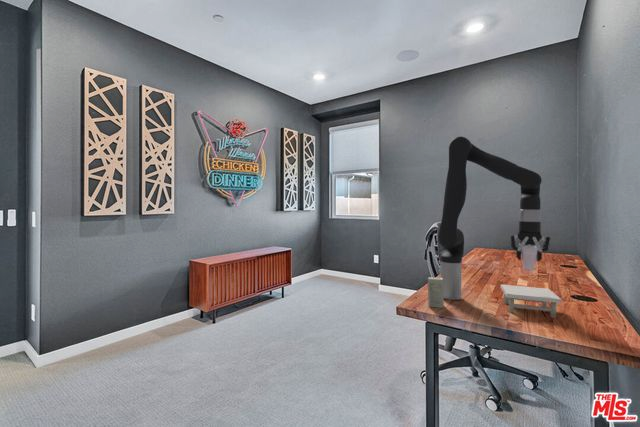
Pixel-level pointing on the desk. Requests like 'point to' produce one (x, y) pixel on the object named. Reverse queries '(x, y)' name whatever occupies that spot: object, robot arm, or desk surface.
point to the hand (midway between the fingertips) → (528, 260)
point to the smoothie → (529, 257)
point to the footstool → (530, 298)
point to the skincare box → (435, 292)
